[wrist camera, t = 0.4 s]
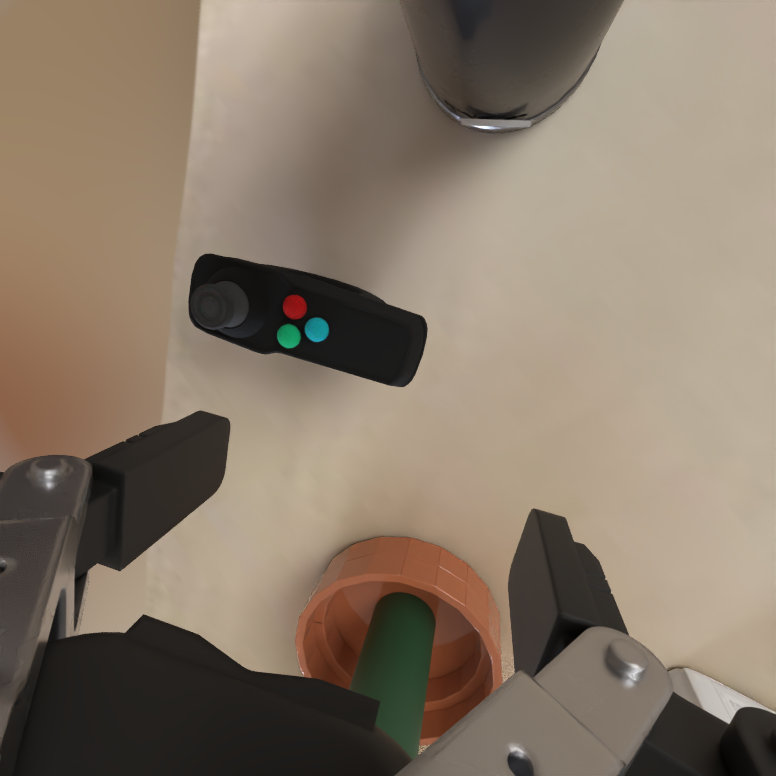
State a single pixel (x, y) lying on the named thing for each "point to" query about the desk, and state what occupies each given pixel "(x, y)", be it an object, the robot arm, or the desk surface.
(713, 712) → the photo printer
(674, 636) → the desk surface
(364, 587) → the bowl
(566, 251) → the desk surface
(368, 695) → the green cylinder
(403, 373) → the controller
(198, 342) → the desk surface
